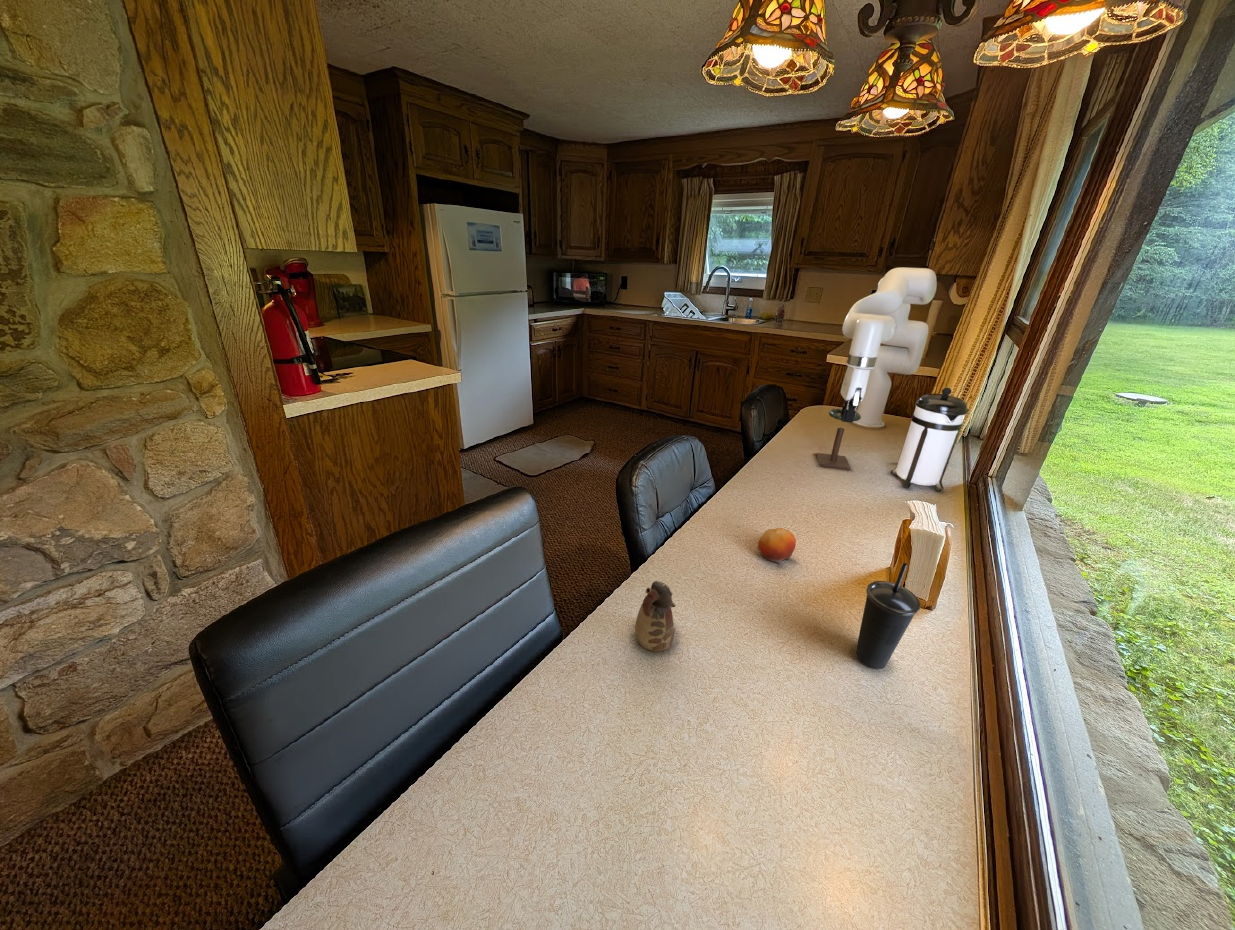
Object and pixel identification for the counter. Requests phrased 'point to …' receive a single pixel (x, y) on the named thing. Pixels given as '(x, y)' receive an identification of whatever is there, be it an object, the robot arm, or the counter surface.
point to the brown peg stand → (834, 455)
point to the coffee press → (931, 439)
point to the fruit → (777, 544)
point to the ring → (835, 414)
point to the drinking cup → (885, 620)
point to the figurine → (656, 618)
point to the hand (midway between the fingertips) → (846, 420)
